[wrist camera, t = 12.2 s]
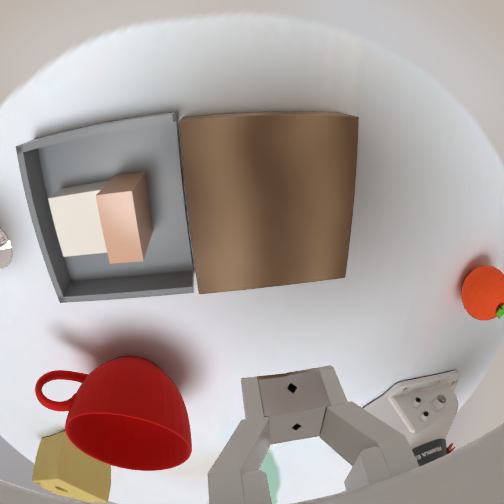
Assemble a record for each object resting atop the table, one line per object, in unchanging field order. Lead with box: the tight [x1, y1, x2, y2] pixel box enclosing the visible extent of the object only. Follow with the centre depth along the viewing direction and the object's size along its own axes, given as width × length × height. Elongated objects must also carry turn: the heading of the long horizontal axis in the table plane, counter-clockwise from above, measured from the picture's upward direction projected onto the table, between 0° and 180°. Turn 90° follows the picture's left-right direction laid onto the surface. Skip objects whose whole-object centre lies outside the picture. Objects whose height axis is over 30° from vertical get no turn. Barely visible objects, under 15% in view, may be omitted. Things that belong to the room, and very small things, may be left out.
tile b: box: [96, 172, 153, 264], centre depth 22 cm, size 5×5×2 cm
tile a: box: [48, 181, 109, 257], centre depth 23 cm, size 5×5×2 cm
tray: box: [16, 112, 194, 303], centre depth 23 cm, size 12×14×3 cm
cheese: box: [32, 431, 111, 503], centre depth 37 cm, size 10×11×10 cm
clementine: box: [461, 266, 504, 320], centre depth 32 cm, size 8×7×7 cm
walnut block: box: [179, 112, 358, 294], centre depth 24 cm, size 12×13×4 cm
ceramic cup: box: [35, 356, 192, 471], centre depth 29 cm, size 13×17×10 cm
